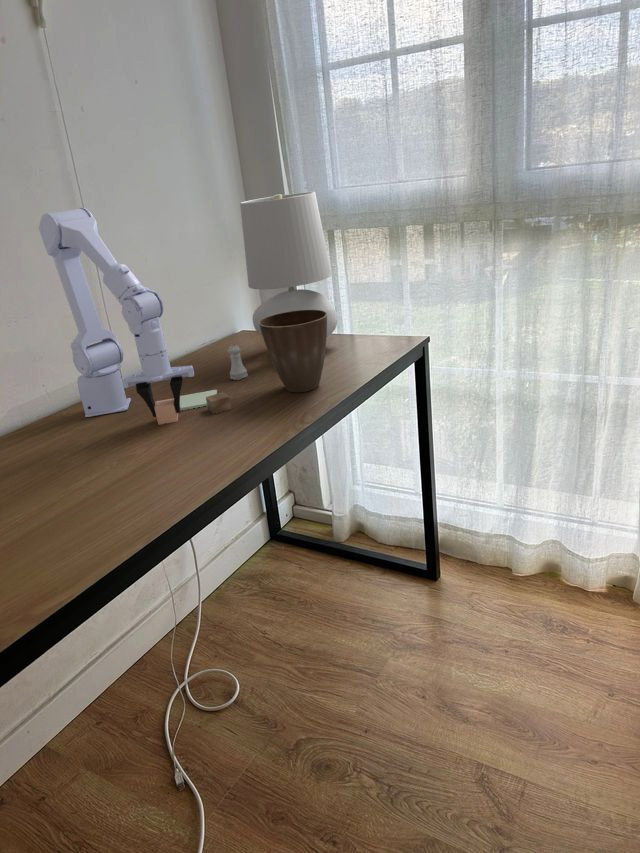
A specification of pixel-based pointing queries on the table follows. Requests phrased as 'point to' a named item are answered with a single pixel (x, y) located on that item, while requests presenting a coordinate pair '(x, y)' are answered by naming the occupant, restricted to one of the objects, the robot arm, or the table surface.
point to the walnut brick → (218, 402)
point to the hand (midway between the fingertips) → (167, 413)
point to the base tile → (195, 400)
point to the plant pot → (297, 346)
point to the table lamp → (286, 254)
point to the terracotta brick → (166, 411)
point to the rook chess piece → (236, 363)
